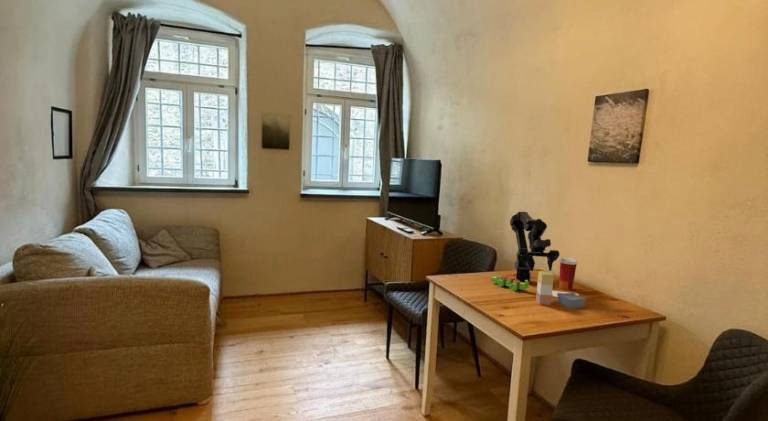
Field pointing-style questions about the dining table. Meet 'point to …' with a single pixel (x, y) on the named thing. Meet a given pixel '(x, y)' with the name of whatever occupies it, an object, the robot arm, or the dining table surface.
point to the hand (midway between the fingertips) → (540, 270)
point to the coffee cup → (567, 273)
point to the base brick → (571, 300)
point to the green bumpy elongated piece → (510, 282)
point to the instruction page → (555, 293)
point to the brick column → (544, 288)
